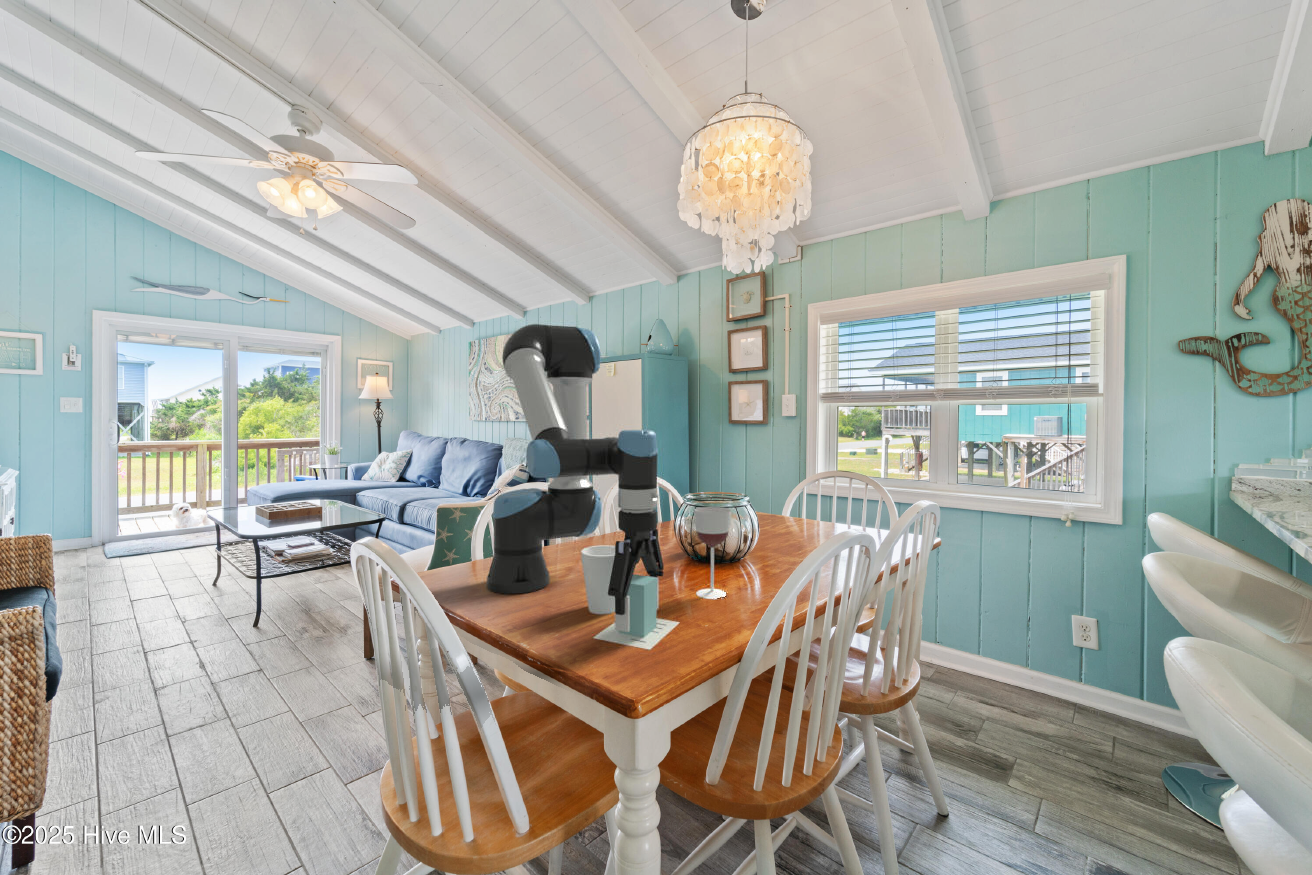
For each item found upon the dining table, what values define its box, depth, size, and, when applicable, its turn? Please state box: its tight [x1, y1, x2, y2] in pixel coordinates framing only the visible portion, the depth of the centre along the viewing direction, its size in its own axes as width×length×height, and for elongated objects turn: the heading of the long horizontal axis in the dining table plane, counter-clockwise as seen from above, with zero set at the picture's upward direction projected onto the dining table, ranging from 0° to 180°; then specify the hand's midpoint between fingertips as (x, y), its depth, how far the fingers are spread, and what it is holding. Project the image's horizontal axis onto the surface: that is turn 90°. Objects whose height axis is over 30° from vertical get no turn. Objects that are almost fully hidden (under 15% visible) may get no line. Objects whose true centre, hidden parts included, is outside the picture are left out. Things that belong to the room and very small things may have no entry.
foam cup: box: [580, 545, 615, 615], centre depth 118 cm, size 10×9×13 cm
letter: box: [592, 617, 680, 651], centre depth 107 cm, size 12×14×1 cm
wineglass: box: [693, 506, 732, 600], centre depth 128 cm, size 8×9×20 cm
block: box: [619, 573, 657, 637], centre depth 106 cm, size 6×6×10 cm
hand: (637, 618), depth 106 cm, fingers open, 12 cm apart
